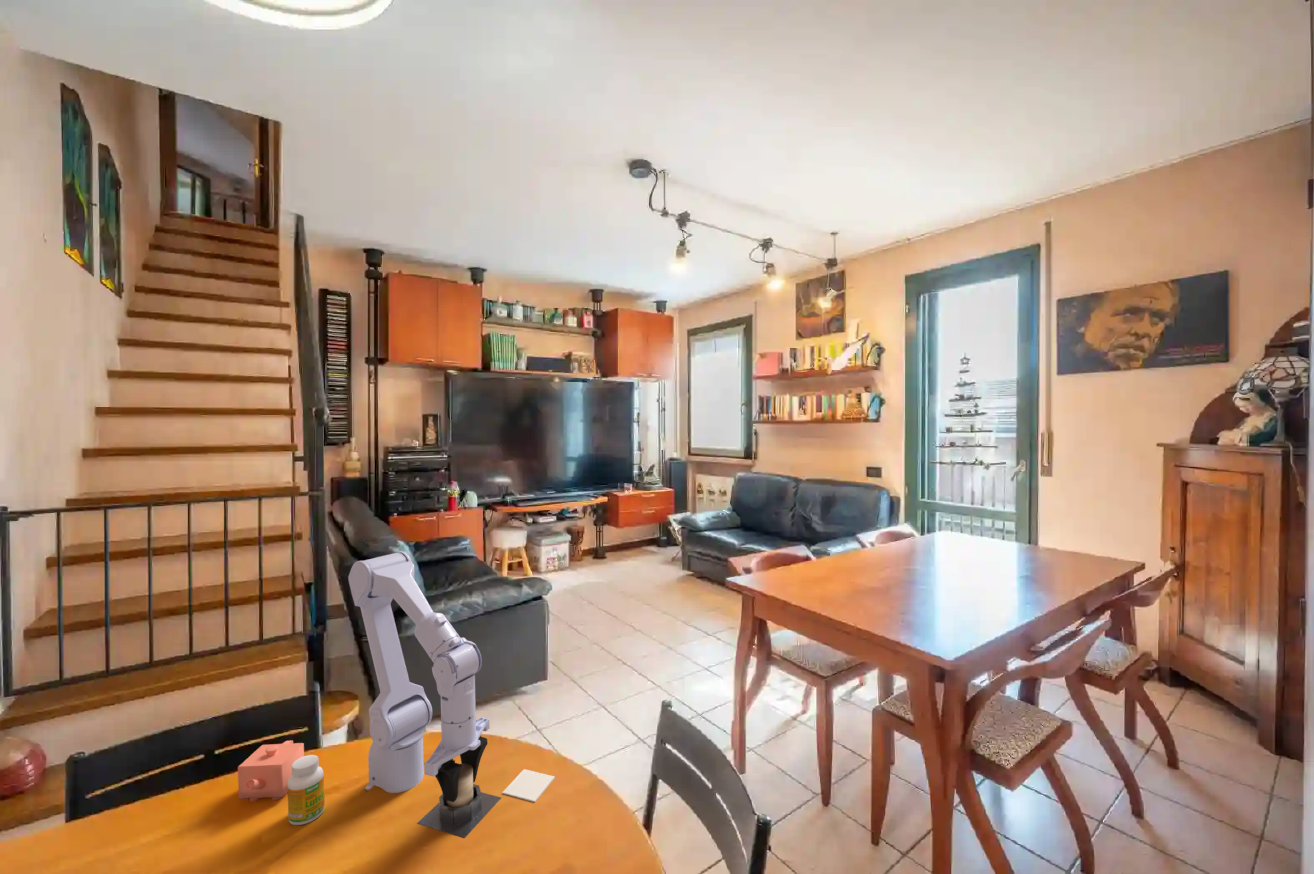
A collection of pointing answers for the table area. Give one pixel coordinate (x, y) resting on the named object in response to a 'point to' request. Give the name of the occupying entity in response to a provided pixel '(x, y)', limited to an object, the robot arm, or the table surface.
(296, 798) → the supplement bottle
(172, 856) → the table surface
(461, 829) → the housing
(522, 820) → the table surface
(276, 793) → the pink cube teapot
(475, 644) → the robot arm
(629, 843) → the table surface
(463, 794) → the tan cylinder
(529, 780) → the tile pad
